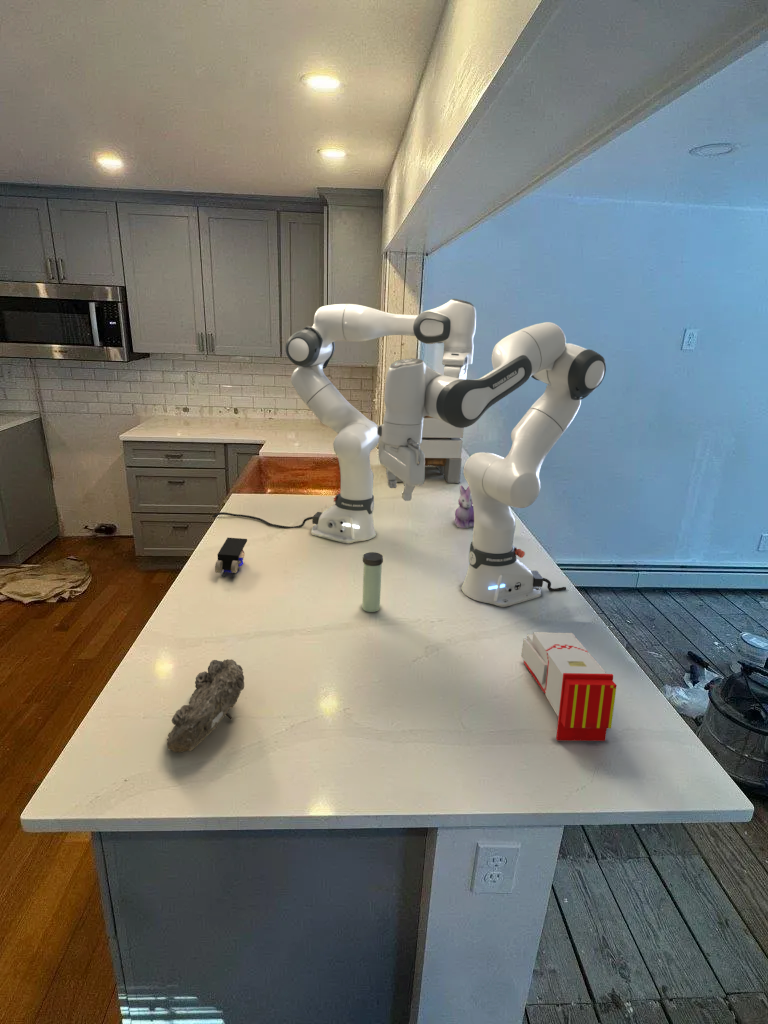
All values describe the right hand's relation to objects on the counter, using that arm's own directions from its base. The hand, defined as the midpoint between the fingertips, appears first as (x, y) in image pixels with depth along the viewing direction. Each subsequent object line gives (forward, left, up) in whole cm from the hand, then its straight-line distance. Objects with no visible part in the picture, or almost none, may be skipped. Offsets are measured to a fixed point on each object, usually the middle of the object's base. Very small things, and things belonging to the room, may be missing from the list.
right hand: (398, 493), depth 131 cm
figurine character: (+35, -42, -35) cm, 64 cm away
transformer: (-62, -127, -35) cm, 146 cm away
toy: (-24, +36, -35) cm, 55 cm away
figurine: (-51, -59, -35) cm, 86 cm away
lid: (+2, -10, -20) cm, 22 cm away
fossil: (+45, +22, -35) cm, 61 cm away
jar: (+2, -10, -35) cm, 36 cm away
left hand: (-34, -42, +13) cm, 56 cm away
